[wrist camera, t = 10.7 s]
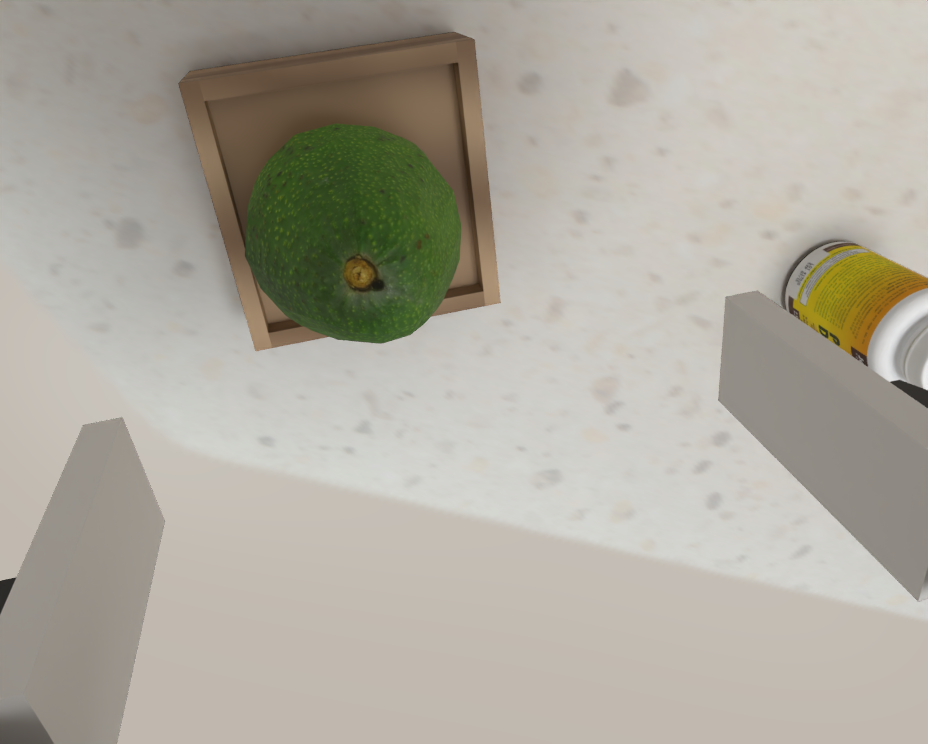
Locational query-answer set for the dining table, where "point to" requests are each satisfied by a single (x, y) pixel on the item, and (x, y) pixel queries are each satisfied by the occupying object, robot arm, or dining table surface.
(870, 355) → the supplement bottle
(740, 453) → the dining table surface
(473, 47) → the wooden tray
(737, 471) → the dining table surface
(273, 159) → the avocado
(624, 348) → the dining table surface
